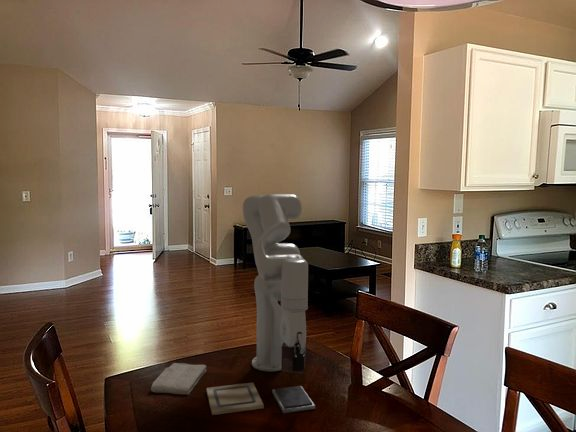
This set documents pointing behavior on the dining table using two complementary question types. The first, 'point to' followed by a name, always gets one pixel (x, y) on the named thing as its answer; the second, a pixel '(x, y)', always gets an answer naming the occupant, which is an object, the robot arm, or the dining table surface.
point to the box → (289, 358)
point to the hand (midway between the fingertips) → (293, 364)
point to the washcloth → (178, 378)
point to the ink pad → (293, 399)
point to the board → (233, 398)
